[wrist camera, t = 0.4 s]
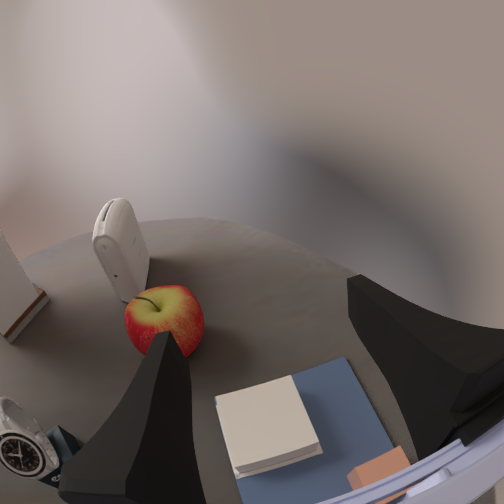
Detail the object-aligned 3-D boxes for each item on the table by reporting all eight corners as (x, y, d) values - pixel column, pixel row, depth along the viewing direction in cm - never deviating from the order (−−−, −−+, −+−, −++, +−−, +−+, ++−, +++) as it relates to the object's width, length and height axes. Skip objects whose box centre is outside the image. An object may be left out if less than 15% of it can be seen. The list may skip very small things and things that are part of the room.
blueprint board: (419, 502, 17) (422, 501, 16) (265, 564, 15) (264, 565, 14) (343, 358, 31) (344, 355, 30) (214, 399, 29) (213, 396, 28)
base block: (316, 450, 23) (319, 441, 21) (239, 473, 22) (234, 467, 20) (290, 388, 28) (290, 374, 26) (221, 408, 27) (215, 396, 25)
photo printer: (145, 301, 40) (112, 226, 33) (118, 305, 40) (81, 233, 33) (153, 255, 49) (129, 187, 41) (129, 259, 48) (103, 193, 41)
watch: (64, 502, 18) (-13, 470, 11) (36, 445, 23) (-30, 399, 16) (99, 479, 21) (28, 442, 14) (67, 424, 26) (5, 372, 19)
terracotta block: (404, 490, 18) (420, 484, 15) (362, 511, 17) (374, 508, 15) (386, 456, 21) (400, 445, 18) (346, 475, 20) (354, 467, 18)
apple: (130, 355, 34) (92, 298, 27) (173, 309, 39) (149, 248, 33) (180, 389, 30) (146, 333, 24) (225, 334, 35) (207, 269, 29)
